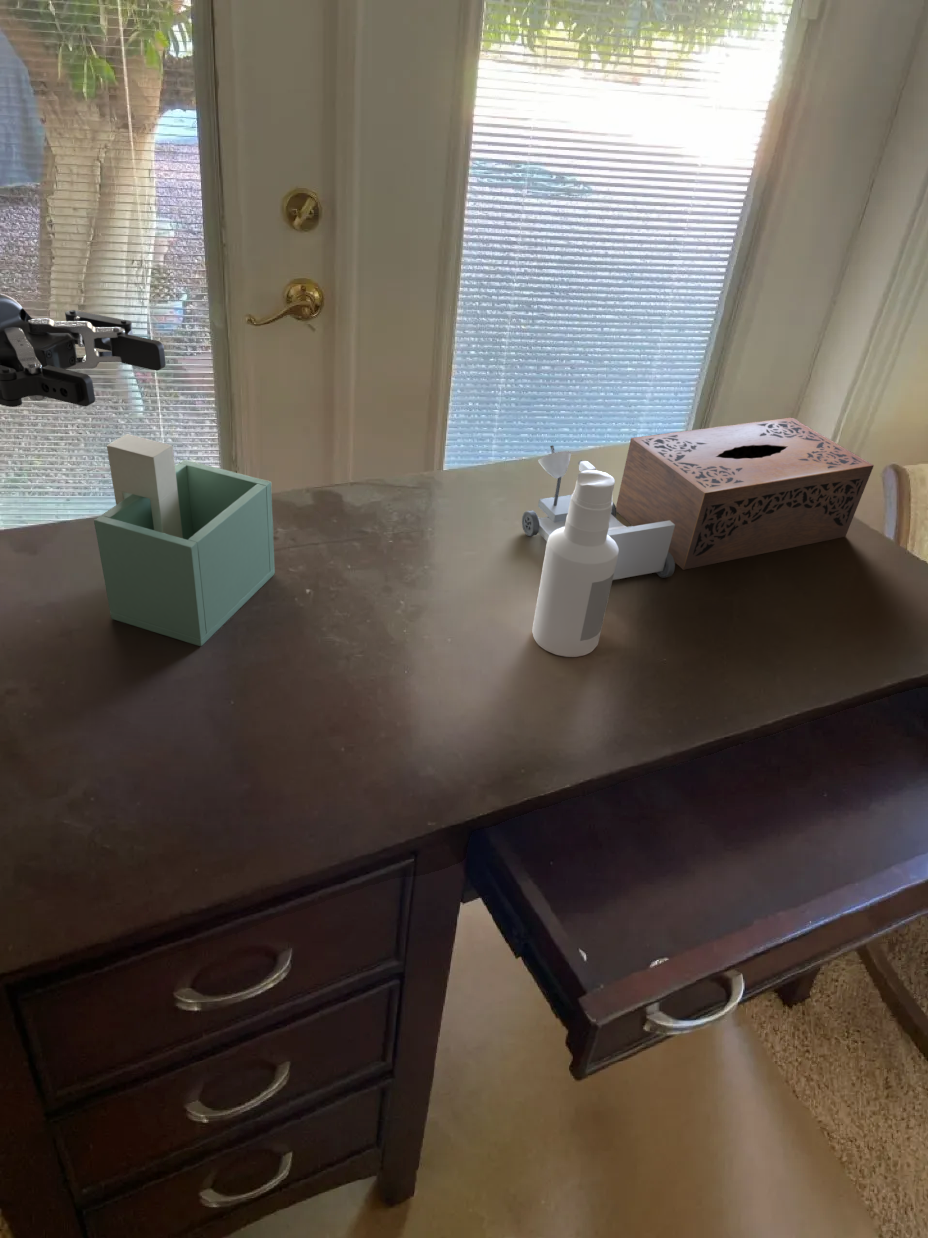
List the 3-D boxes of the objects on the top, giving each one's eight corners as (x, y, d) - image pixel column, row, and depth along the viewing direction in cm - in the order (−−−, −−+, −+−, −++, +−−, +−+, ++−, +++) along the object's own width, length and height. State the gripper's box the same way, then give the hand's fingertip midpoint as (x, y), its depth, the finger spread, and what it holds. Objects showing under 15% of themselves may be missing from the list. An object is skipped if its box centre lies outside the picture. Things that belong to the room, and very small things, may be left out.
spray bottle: (608, 655, 88) (646, 495, 78) (543, 661, 87) (573, 498, 76) (584, 615, 94) (617, 460, 83) (523, 620, 92) (548, 462, 81)
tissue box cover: (769, 484, 123) (791, 417, 117) (845, 536, 113) (873, 465, 107) (615, 510, 113) (631, 437, 107) (683, 569, 103) (705, 493, 97)
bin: (201, 647, 84) (190, 547, 77) (110, 618, 86) (93, 519, 79) (275, 574, 95) (271, 481, 88) (193, 550, 97) (183, 458, 90)
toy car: (520, 444, 103) (605, 434, 108) (510, 517, 109) (591, 506, 113) (600, 519, 90) (692, 505, 95) (584, 598, 96) (671, 581, 100)
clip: (183, 545, 89) (172, 445, 83) (166, 560, 87) (153, 457, 80) (141, 533, 90) (126, 433, 84) (122, 547, 88) (106, 445, 81)
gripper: (-138, 307, 63) (54, 351, 59) (10, 264, 74) (178, 299, 70) (-107, 408, 67) (73, 454, 64) (27, 353, 78) (187, 390, 75)
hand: (128, 373), depth 67 cm, fingers open, 8 cm apart
